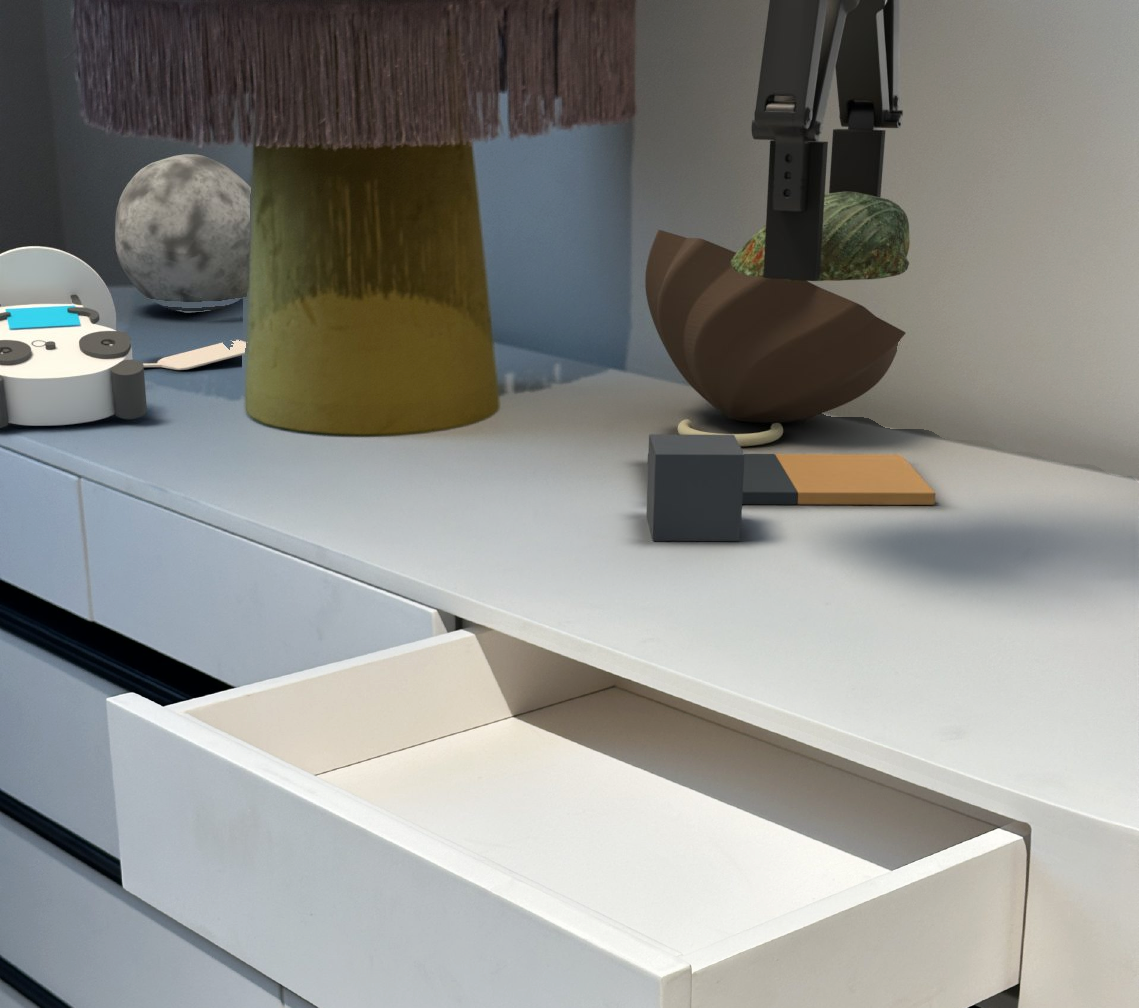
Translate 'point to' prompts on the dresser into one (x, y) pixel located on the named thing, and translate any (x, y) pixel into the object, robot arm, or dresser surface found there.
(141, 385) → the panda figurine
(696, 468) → the slate block
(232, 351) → the spatula
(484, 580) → the dresser surface
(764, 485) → the sorting mat
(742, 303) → the brown fluted bowl
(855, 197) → the seashell
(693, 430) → the handle
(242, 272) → the moon lamp
